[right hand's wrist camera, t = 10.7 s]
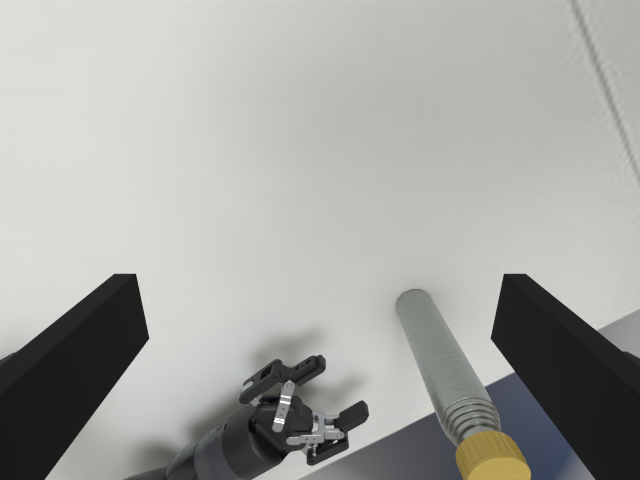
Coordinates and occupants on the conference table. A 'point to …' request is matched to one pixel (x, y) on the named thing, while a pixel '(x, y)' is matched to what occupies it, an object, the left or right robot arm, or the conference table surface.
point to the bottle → (445, 370)
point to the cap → (491, 458)
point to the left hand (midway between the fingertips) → (345, 385)
